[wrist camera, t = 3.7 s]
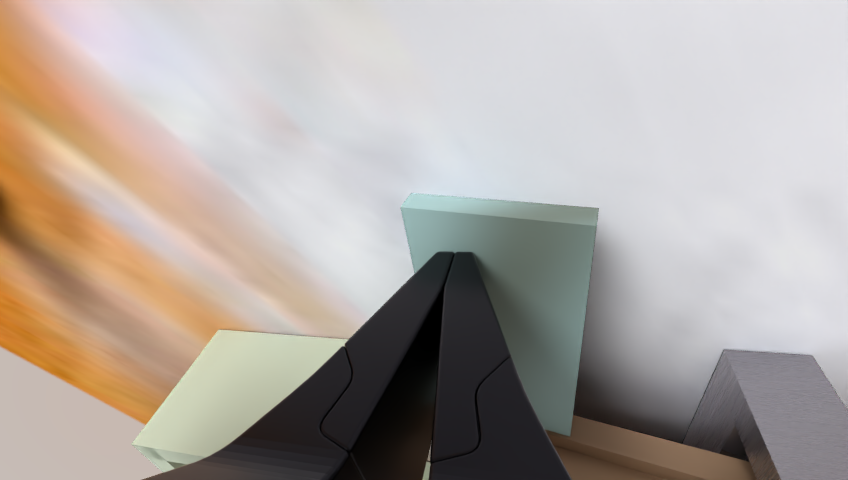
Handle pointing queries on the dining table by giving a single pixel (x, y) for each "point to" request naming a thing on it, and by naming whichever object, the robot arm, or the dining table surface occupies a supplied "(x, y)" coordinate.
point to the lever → (551, 326)
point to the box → (230, 393)
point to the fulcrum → (773, 417)
